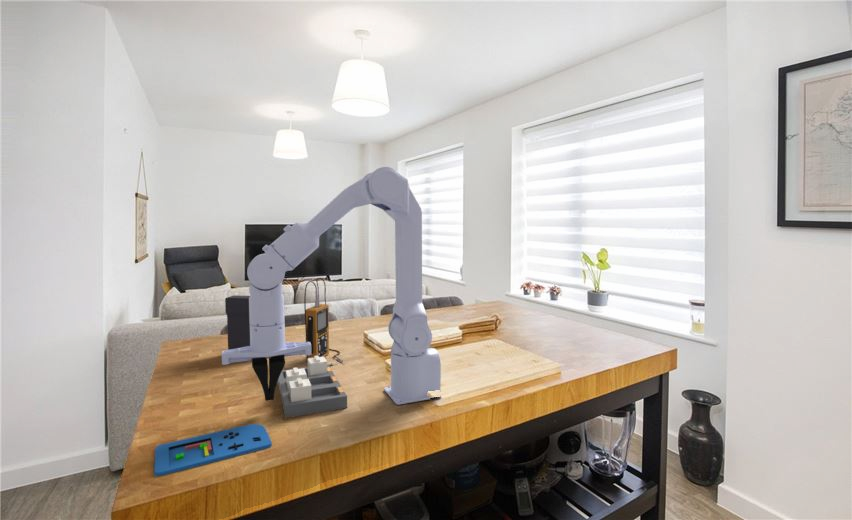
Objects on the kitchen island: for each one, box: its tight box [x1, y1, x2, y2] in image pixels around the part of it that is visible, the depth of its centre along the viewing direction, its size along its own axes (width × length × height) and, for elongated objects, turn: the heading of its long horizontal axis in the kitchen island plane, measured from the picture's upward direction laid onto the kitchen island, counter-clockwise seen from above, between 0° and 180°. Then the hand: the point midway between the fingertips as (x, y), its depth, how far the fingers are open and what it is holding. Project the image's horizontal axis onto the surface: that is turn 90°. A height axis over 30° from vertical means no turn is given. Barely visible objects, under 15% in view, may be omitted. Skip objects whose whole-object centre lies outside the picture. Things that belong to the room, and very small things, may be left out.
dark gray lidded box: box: [224, 295, 250, 350], centre depth 105 cm, size 11×4×15 cm, turn 84°
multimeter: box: [303, 277, 347, 367], centre depth 102 cm, size 15×10×20 cm
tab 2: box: [289, 378, 311, 403], centre depth 76 cm, size 4×4×4 cm
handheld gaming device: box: [153, 423, 273, 477], centre depth 62 cm, size 8×1×15 cm
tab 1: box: [286, 366, 307, 390], centre depth 81 cm, size 4×4×4 cm
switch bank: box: [277, 365, 348, 419], centre depth 82 cm, size 11×18×2 cm, turn 24°
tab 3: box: [307, 356, 328, 376], centre depth 89 cm, size 4×4×4 cm
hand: (269, 398), depth 74 cm, fingers closed
